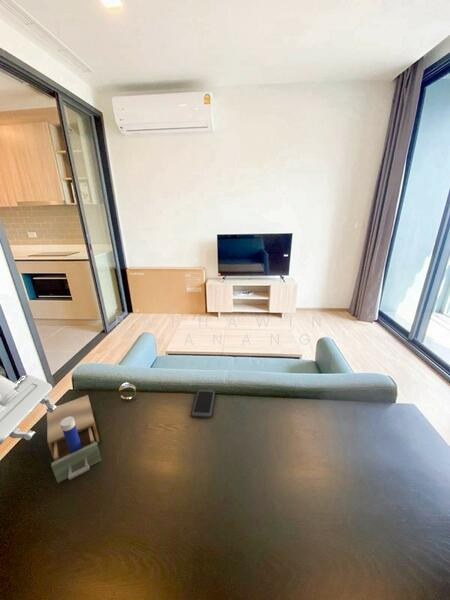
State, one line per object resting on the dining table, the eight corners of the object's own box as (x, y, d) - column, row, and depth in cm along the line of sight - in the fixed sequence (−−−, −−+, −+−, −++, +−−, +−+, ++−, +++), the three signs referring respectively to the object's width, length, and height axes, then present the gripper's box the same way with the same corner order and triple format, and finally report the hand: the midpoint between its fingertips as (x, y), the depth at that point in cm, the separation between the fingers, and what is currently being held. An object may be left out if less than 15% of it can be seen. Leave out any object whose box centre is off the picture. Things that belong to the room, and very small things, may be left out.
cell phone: (191, 416, 91) (190, 415, 91) (198, 390, 104) (198, 389, 104) (210, 417, 90) (210, 416, 90) (215, 391, 103) (215, 390, 103)
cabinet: (99, 442, 82) (94, 422, 79) (54, 463, 75) (47, 443, 72) (92, 412, 94) (87, 394, 91) (53, 428, 87) (46, 410, 84)
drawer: (104, 471, 72) (99, 455, 69) (58, 496, 66) (51, 479, 63) (94, 428, 86) (90, 413, 84) (55, 445, 80) (50, 429, 78)
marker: (72, 463, 73) (60, 428, 68) (71, 454, 76) (59, 420, 71) (84, 456, 75) (74, 422, 70) (83, 448, 77) (73, 414, 73)
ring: (138, 396, 102) (135, 380, 99) (136, 401, 99) (133, 385, 96) (120, 398, 101) (117, 382, 98) (118, 403, 98) (115, 387, 95)
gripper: (21, 378, 77) (60, 402, 81) (-45, 434, 58) (10, 461, 62) (31, 366, 76) (70, 390, 79) (-33, 419, 57) (22, 448, 60)
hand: (43, 422), depth 70 cm, fingers open, 8 cm apart
